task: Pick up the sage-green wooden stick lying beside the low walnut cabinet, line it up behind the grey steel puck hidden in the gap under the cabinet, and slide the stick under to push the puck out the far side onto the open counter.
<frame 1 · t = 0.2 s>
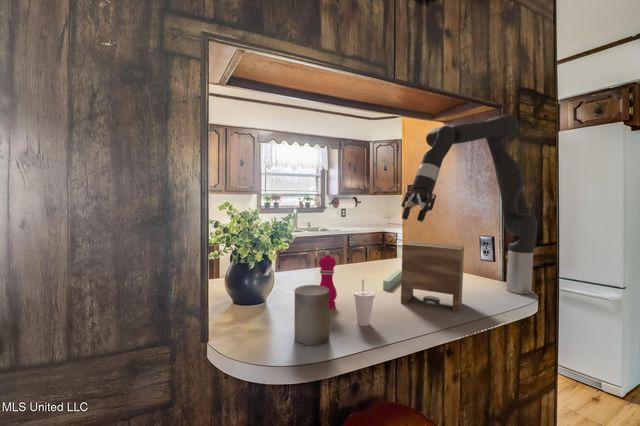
hand: (411, 220, 118), 31 cm above the countertop, tool tilted 20°, fingers open, 8 cm apart
smoothie: (363, 324, 102), on the countertop
sage stick: (393, 284, 149), on the countertop
pepper mill: (326, 307, 117), on the countertop
steel puck: (431, 303, 123), on the countertop
pillar candle: (311, 338, 91), on the countertop
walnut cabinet: (431, 302, 123), on the countertop
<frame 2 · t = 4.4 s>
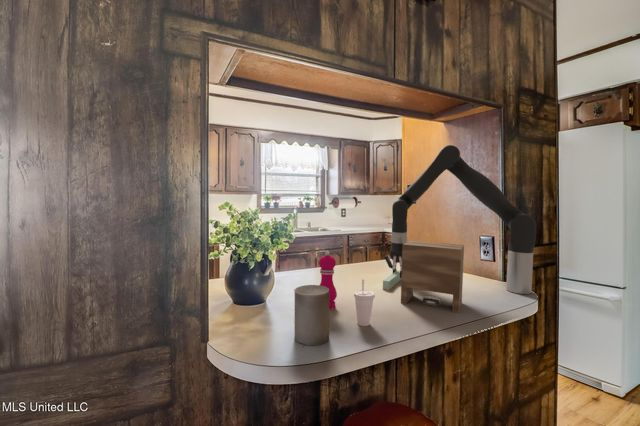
hand: (397, 277, 157), 1 cm above the countertop, tool pointing down, fingers closed on sage stick, 2 cm apart
sage stick: (392, 284, 149), on the countertop, touching gripper
everything else where it was.
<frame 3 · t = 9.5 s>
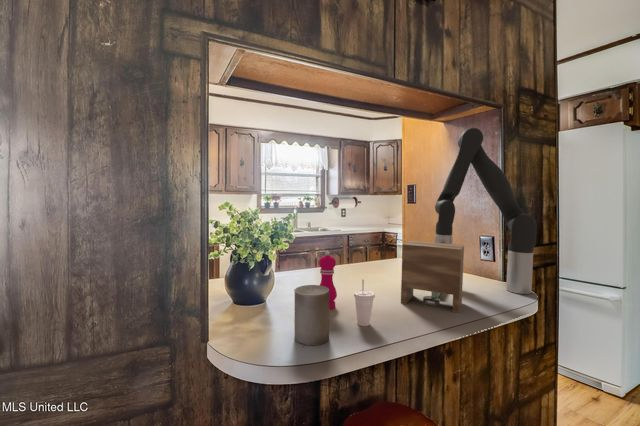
hand: (442, 282, 147), 1 cm above the countertop, tool pointing down, fingers closed on sage stick, 2 cm apart
sage stick: (439, 289, 140), on the countertop, touching gripper
everything else where it was.
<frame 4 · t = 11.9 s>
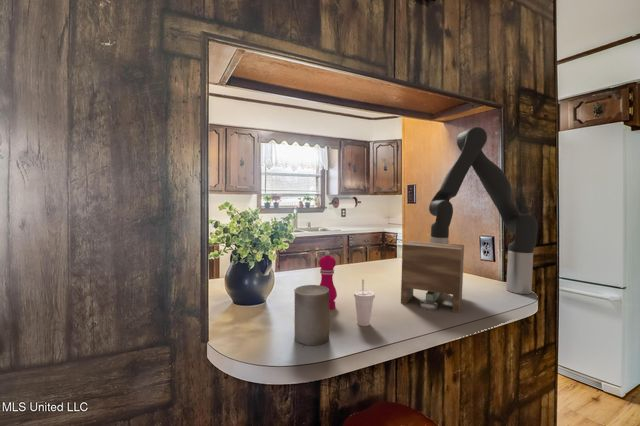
hand: (437, 288, 137), 1 cm above the countertop, tool pointing down, fingers closed on sage stick, 2 cm apart
sage stick: (434, 296, 130), on the countertop, touching gripper, steel puck
steel puck: (428, 308, 118), on the countertop, touching sage stick
everything else where it was.
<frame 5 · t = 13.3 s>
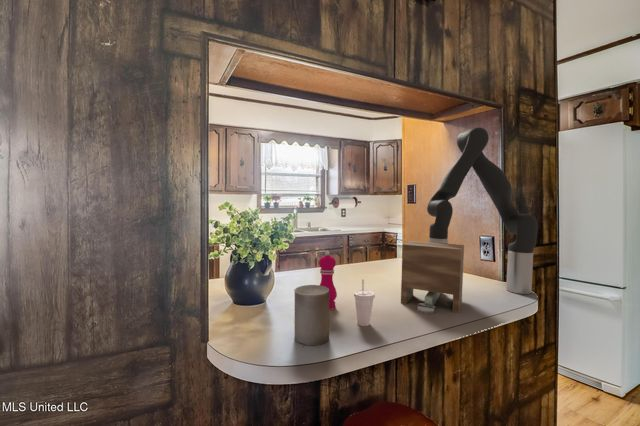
hand: (436, 291, 133), 1 cm above the countertop, tool pointing down, fingers closed on sage stick, 2 cm apart
sage stick: (433, 299, 127), on the countertop, touching gripper
steel puck: (426, 311, 114), on the countertop
everything else where it was.
when the fingers open (1 cm above the countertop, at t = 14.8 s): sage stick stays where it is, on the countertop.
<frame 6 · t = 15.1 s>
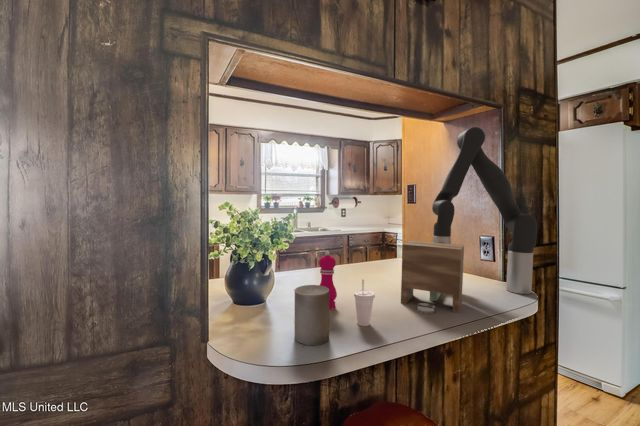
hand: (440, 284, 142), 2 cm above the countertop, tool pointing down, fingers open, 5 cm apart
sage stick: (437, 293, 136), on the countertop
everything else where it was.
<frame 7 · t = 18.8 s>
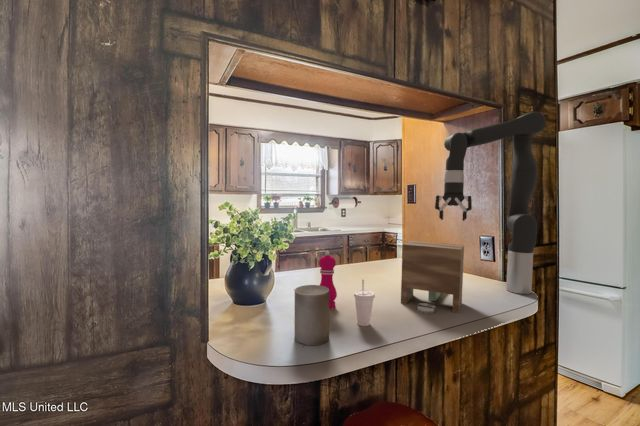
hand: (452, 220, 139), 30 cm above the countertop, tool pointing down, fingers open, 8 cm apart
nothing on the countertop moved.
at the end: steel puck inside the target area (5.0 cm from its centre), on the countertop; steel puck tilted 0°; the gripper is holding nothing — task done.
